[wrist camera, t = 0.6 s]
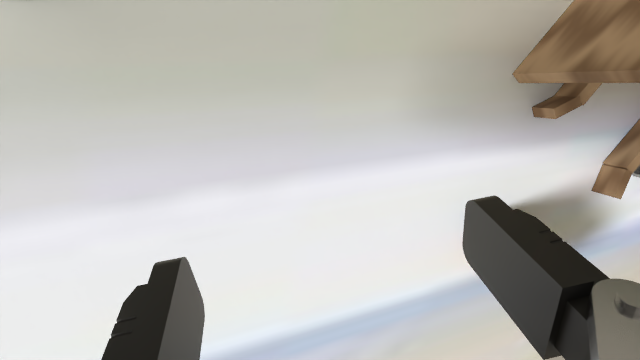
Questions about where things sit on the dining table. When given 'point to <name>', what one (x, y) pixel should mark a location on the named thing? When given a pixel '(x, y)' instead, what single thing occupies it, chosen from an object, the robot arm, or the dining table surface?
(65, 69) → the dining table surface
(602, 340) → the robot arm
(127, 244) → the dining table surface
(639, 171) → the bookend
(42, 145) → the dining table surface
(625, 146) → the rack
